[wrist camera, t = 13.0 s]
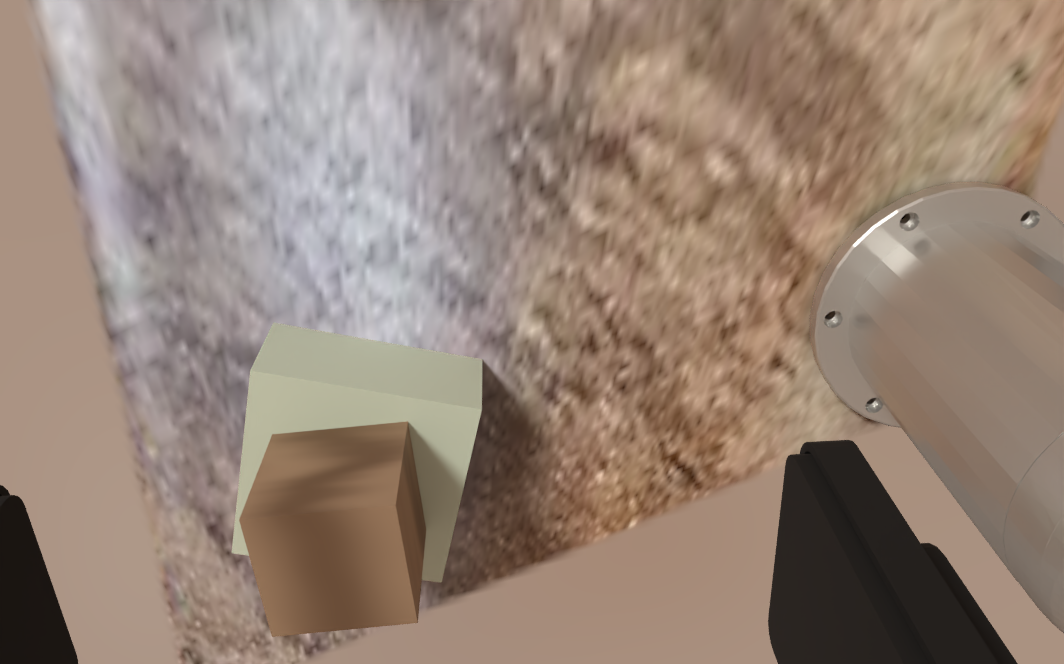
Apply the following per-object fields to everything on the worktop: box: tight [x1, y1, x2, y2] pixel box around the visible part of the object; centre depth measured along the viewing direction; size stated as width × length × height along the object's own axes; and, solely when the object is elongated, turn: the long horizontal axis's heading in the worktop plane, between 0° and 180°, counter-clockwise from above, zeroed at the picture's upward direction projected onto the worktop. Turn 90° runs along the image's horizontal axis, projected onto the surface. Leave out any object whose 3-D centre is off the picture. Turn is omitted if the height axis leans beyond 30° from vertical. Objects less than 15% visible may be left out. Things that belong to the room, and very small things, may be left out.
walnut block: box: [239, 421, 426, 637], centre depth 39 cm, size 6×6×6 cm
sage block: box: [232, 323, 482, 583], centre depth 44 cm, size 10×10×5 cm
